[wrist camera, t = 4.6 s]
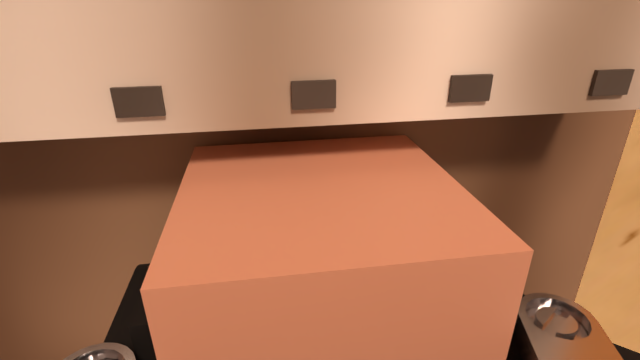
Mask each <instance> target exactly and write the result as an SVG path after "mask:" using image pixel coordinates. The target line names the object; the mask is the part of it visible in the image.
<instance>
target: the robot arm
mask: <svg viewBox="0 0 640 360" xmlns="http://www.w3.org/2000/svg"><path fill="white" fill-rule="evenodd" d="M149 266H150V263H149V264H139V265H138V266H137V267H136V268H135V270H134V273H133V275H132V277H131V280H130V282H129V284H128V287H127V289H126V291H125V294H124V296H123V298H122V301H121V303H120V305H119V307H118V310H117V312H116V314H115V317H114V319H113V321H112V324H111V326H110V328H109V331H108V333H107V335H106V338H105V340H104V342H103V343H100V344H95V345H90V346H88V347H85V348H83V349H80V350H78V351H76V352H74V353H73V354H71V355H69V356H68V357H66V358H64V359H63V360H157V359H156V355H155V350H154V346H153V342H152V338H151V334H150V330H149V326H148V321H147V317H146V313H145V309H144V305H143V301H142V296H141V292H140V289H141V286H142V284H143V281H144V279H145V276H146V273H147V271H148V268H149ZM506 360H640V353H637V352H634V351H632V350H629V349H627V348H624V347H621V346H619V345H616V344H613V343H612V342H611V340H610V339H609V337H608V336H607V334H606V333H605V331H604V330H603V328H602V327H601V325H600V324H599V322H598V321H597V320H596V319H595V318H594V316H593V315H592V314H591V313H590V312H589V311H587V310H586V309H585V308H583V307H582V306H581V305H579V304H577V303H575V302H573V301H571V300H569V299H567V298H564V297H561V296H558V295H554V294H548V293H532V294H528V295H524V294H523V295H522V299H521V303H520V307H519V311H518V315H517V319H516V323H515V327H514V331H513V335H512V339H511V343H510V346H509V350H508V354H507V358H506Z"/></svg>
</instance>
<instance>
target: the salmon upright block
mask: <svg viewBox="0 0 640 360" xmlns="http://www.w3.org/2000/svg"><path fill="white" fill-rule="evenodd" d="M533 252H534V250H533V249H532V248H531V247H529V246H528V245H527V244H526V243H525V242H524V241H523V240H522V239H521V238H519V237H518V236H517V235H516V234H515V233H514V232H513V231H512V230H511V229H509V228H508V227H507V226H506V225H505V224H504V223H503V222H502V221H501V220H499V219H498V218H497V217H496V216H495V215H494V214H493V213H492V212H491V211H489V210H488V209H487V208H486V207H485V206H484V205H483V204H482V203H481V202H479V201H478V200H477V199H476V198H475V197H474V196H473V195H472V194H471V193H469V192H468V191H467V190H466V189H465V188H464V187H463V186H462V185H461V184H459V183H458V182H457V181H456V180H455V179H454V178H453V177H452V176H451V175H449V174H448V173H447V172H446V171H445V170H444V169H443V168H442V167H441V166H439V165H438V164H437V163H436V162H435V161H434V160H433V159H432V158H431V157H429V156H428V155H427V154H426V153H425V152H424V151H423V150H422V149H421V148H419V147H418V146H417V145H416V144H415V143H414V142H413V141H412V140H411V139H409V138H408V137H407V136H406V135H394V136H376V137H359V138H341V139H323V140H305V141H288V142H270V143H252V144H234V145H217V146H199V147H195V148H194V150H193V153H192V156H191V158H190V161H189V163H188V166H187V169H186V171H185V174H184V177H183V179H182V182H181V184H180V187H179V190H178V192H177V195H176V197H175V200H174V203H173V205H172V208H171V211H170V213H169V216H168V218H167V221H166V224H165V226H164V229H163V231H162V234H161V237H160V239H159V242H158V245H157V247H156V250H155V252H154V255H153V258H152V260H151V263H150V266H149V268H148V271H147V273H146V276H145V279H144V281H143V284H142V286H141V289H140V292H141V296H142V301H143V305H144V309H145V313H146V317H147V321H148V326H149V330H150V334H151V338H152V342H153V346H154V350H155V355H156V359H157V360H506V358H507V354H508V350H509V346H510V343H511V339H512V335H513V331H514V327H515V323H516V319H517V315H518V311H519V307H520V303H521V299H522V295H523V291H524V287H525V283H526V280H527V276H528V272H529V268H530V264H531V260H532V256H533Z"/></svg>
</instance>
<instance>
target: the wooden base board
mask: <svg viewBox="0 0 640 360" xmlns="http://www.w3.org/2000/svg"><path fill="white" fill-rule="evenodd" d="M636 109H640V0H0V360H63V359H64V358H66V357H68V356H69V355H71V354H73V353H74V352H76V351H78V350H80V349H83V348H85V347H88V346H90V345H95V344H100V343H103V342H104V340H105V338H106V335H107V333H108V331H109V328H110V326H111V324H112V321H113V319H114V317H115V314H116V312H117V310H118V307H119V305H120V303H121V301H122V298H123V296H124V294H125V291H126V289H127V287H128V284H129V282H130V280H131V277H132V275H133V273H134V270H135V268H136V267H137V266H138V265H139V264H149V263H151V260H152V258H153V255H154V252H155V250H156V247H157V245H158V242H159V239H160V237H161V234H162V231H163V229H164V226H165V224H166V221H167V218H168V216H169V213H170V211H171V208H172V205H173V203H174V200H175V197H176V195H177V192H178V190H179V187H180V184H181V182H182V179H183V177H184V174H185V171H186V169H187V166H188V163H189V161H190V158H191V156H192V153H193V150H194V148H195V147H199V146H217V145H234V144H252V143H270V142H288V141H305V140H323V139H341V138H359V137H376V136H394V135H406V136H407V137H408V138H409V139H411V140H412V141H413V142H414V143H415V144H416V145H417V146H418V147H419V148H421V149H422V150H423V151H424V152H425V153H426V154H427V155H428V156H429V157H431V158H432V159H433V160H434V161H435V162H436V163H437V164H438V165H439V166H441V167H442V168H443V169H444V170H445V171H446V172H447V173H448V174H449V175H451V176H452V177H453V178H454V179H455V180H456V181H457V182H458V183H459V184H461V185H462V186H463V187H464V188H465V189H466V190H467V191H468V192H469V193H471V194H472V195H473V196H474V197H475V198H476V199H477V200H478V201H479V202H481V203H482V204H483V205H484V206H485V207H486V208H487V209H488V210H489V211H491V212H492V213H493V214H494V215H495V216H496V217H497V218H498V219H499V220H501V221H502V222H503V223H504V224H505V225H506V226H507V227H508V228H509V229H511V230H512V231H513V232H514V233H515V234H516V235H517V236H518V237H519V238H521V239H522V240H523V241H524V242H525V243H526V244H527V245H528V246H529V247H531V248H532V249H533V250H534V252H533V256H532V260H531V264H530V268H529V272H528V276H527V280H526V283H525V287H524V291H523V294H524V295H528V294H532V293H548V294H554V295H558V296H561V297H564V298H567V299H569V300H571V301H573V302H574V301H575V298H576V295H577V291H578V288H579V285H580V282H581V279H582V276H583V273H584V270H585V267H586V264H587V261H588V257H589V254H590V251H591V248H592V245H593V242H594V239H595V236H596V233H597V230H598V227H599V223H600V220H601V217H602V214H603V211H604V208H605V205H606V202H607V199H608V196H609V193H610V190H611V186H612V183H613V180H614V177H615V174H616V171H617V168H618V165H619V162H620V159H621V156H622V152H623V149H624V146H625V143H626V140H627V137H628V134H629V131H630V128H631V125H632V122H633V118H634V115H635V112H636Z"/></svg>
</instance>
